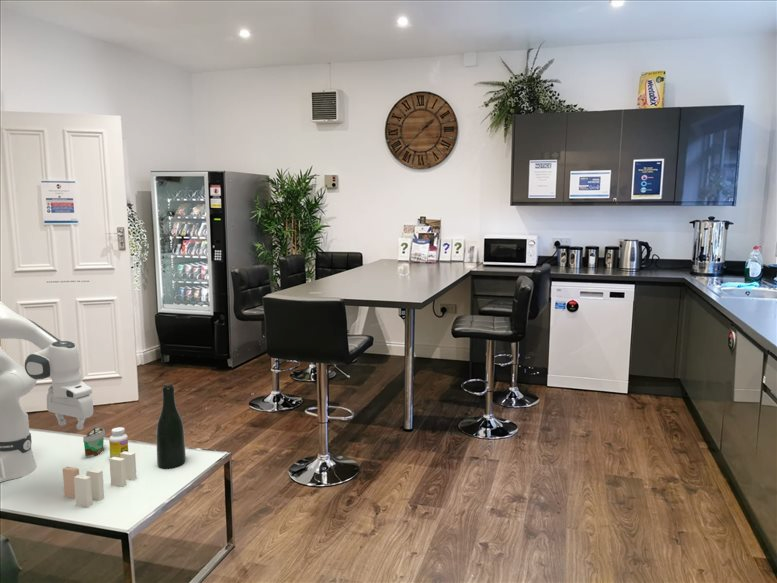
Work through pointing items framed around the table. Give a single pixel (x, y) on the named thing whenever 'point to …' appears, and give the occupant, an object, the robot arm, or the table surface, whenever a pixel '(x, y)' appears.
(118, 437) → the supplement bottle
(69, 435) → the table surface
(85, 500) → the domino
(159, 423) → the dark green wine bottle
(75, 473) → the domino
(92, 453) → the food container
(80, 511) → the table surface
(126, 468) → the domino
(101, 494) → the domino
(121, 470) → the domino
